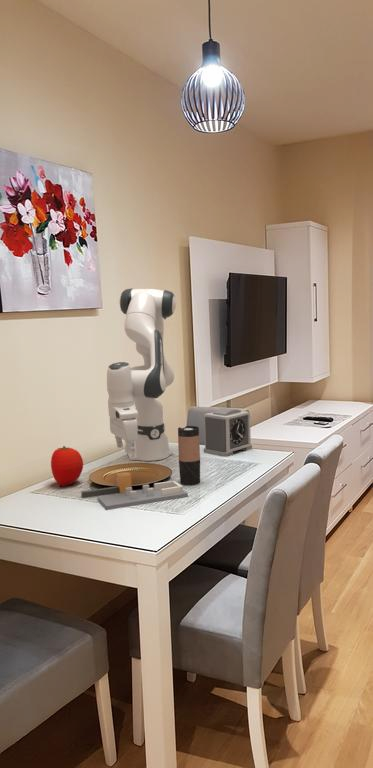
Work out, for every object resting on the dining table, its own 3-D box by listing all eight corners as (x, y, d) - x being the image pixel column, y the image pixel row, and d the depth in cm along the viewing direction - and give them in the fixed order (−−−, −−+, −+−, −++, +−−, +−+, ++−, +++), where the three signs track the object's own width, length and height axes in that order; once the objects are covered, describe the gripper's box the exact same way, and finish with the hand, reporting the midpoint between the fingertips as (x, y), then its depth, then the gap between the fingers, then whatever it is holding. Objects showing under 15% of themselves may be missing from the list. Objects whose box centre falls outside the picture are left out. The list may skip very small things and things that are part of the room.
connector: (128, 488, 219) (127, 471, 219) (131, 491, 216) (130, 474, 215) (80, 495, 213) (79, 478, 212) (83, 499, 209) (82, 481, 209)
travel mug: (198, 486, 220) (197, 430, 217) (177, 485, 221) (175, 430, 218) (202, 479, 227) (200, 425, 224) (182, 479, 229) (180, 425, 226)
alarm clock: (226, 457, 258) (224, 413, 256) (202, 452, 267) (201, 410, 265) (253, 448, 272) (252, 407, 269) (229, 444, 281) (228, 404, 278)
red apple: (61, 478, 235) (59, 441, 233) (89, 479, 232) (87, 442, 230) (45, 488, 223) (43, 449, 221) (74, 490, 220) (72, 450, 218)
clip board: (97, 500, 208) (97, 489, 207) (175, 487, 218) (175, 477, 218) (106, 509, 198) (105, 498, 197) (187, 496, 208) (187, 486, 208)
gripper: (104, 407, 221) (106, 445, 223) (121, 415, 202) (124, 456, 204) (121, 405, 224) (123, 443, 225) (139, 413, 205) (142, 454, 207)
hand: (124, 450), depth 214 cm, fingers open, 8 cm apart
